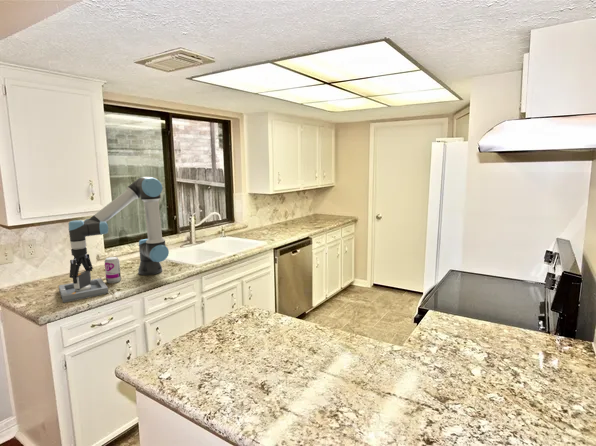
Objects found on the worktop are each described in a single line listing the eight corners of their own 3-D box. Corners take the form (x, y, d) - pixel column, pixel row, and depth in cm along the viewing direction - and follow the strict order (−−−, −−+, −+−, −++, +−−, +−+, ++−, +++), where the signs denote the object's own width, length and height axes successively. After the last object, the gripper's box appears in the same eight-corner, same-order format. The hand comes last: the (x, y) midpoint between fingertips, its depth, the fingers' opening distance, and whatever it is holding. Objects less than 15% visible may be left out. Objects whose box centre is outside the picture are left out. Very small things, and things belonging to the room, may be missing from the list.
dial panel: (101, 283, 227) (100, 277, 226) (108, 293, 209) (107, 287, 209) (59, 291, 213) (58, 285, 213) (63, 302, 196) (62, 295, 196)
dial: (83, 286, 216) (81, 269, 215) (95, 287, 216) (93, 270, 214) (70, 292, 207) (68, 274, 205) (83, 293, 206) (81, 275, 204)
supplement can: (115, 283, 226) (113, 260, 223) (103, 282, 228) (101, 259, 225) (123, 279, 234) (121, 256, 231) (112, 278, 235) (110, 256, 233)
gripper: (84, 243, 218) (88, 278, 222) (58, 252, 196) (63, 292, 200) (96, 243, 218) (100, 279, 222) (72, 252, 196) (76, 292, 199)
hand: (83, 285), depth 211 cm, fingers closed on dial, 10 cm apart
